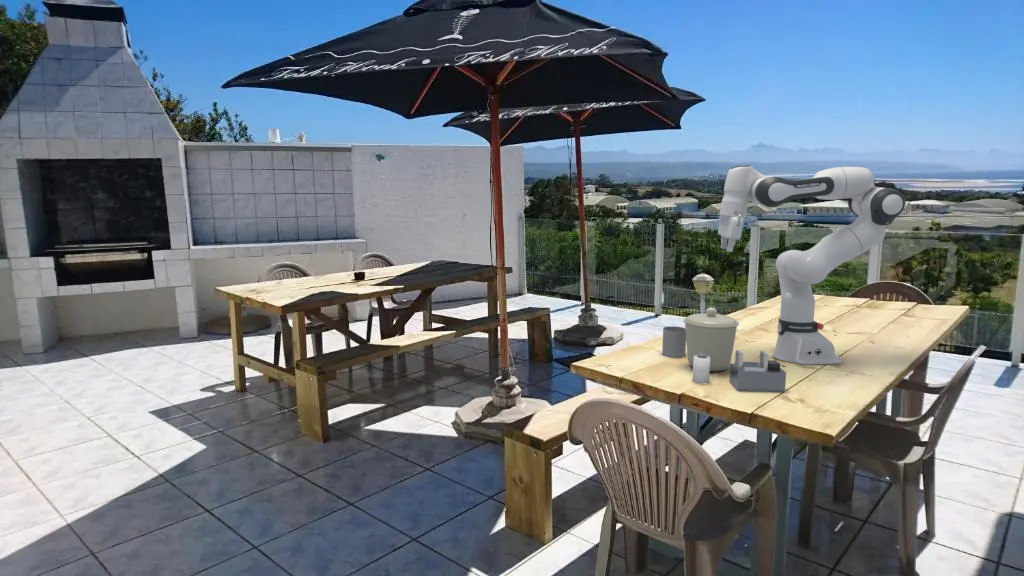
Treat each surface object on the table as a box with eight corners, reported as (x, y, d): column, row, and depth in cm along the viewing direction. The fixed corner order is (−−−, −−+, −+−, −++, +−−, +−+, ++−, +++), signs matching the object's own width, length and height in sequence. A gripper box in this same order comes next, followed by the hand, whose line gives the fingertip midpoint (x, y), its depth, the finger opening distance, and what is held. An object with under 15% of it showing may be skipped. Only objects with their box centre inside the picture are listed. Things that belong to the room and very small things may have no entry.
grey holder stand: (774, 382, 191) (777, 349, 189) (784, 392, 182) (787, 356, 180) (729, 381, 192) (731, 348, 190) (737, 390, 183) (739, 355, 182)
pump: (706, 379, 195) (708, 352, 193) (710, 384, 190) (712, 356, 188) (691, 378, 195) (692, 351, 194) (694, 383, 190) (695, 355, 189)
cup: (686, 358, 219) (687, 331, 218) (662, 357, 221) (663, 330, 219) (684, 352, 228) (685, 326, 226) (661, 351, 229) (662, 325, 228)
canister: (746, 368, 207) (750, 308, 204) (718, 379, 195) (722, 314, 192) (699, 358, 220) (702, 301, 217) (670, 367, 208) (673, 307, 205)
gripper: (750, 214, 202) (742, 254, 205) (735, 211, 222) (728, 248, 225) (731, 211, 203) (723, 252, 205) (718, 209, 223) (711, 246, 225)
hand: (726, 250), depth 215 cm, fingers open, 8 cm apart
